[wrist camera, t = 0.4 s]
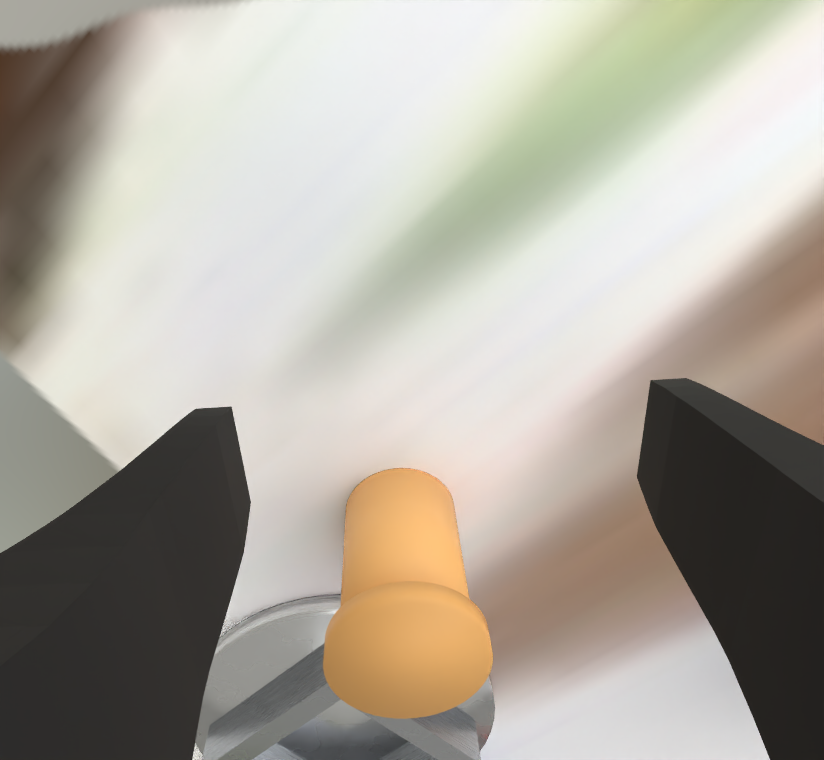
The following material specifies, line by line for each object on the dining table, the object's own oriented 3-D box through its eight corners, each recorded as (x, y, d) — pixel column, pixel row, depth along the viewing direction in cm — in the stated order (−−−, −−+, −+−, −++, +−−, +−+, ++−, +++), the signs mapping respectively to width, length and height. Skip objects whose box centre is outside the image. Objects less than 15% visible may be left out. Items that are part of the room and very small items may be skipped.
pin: (491, 511, 25) (526, 662, 19) (397, 580, 26) (404, 739, 21) (403, 435, 23) (413, 575, 17) (307, 512, 25) (287, 666, 19)
